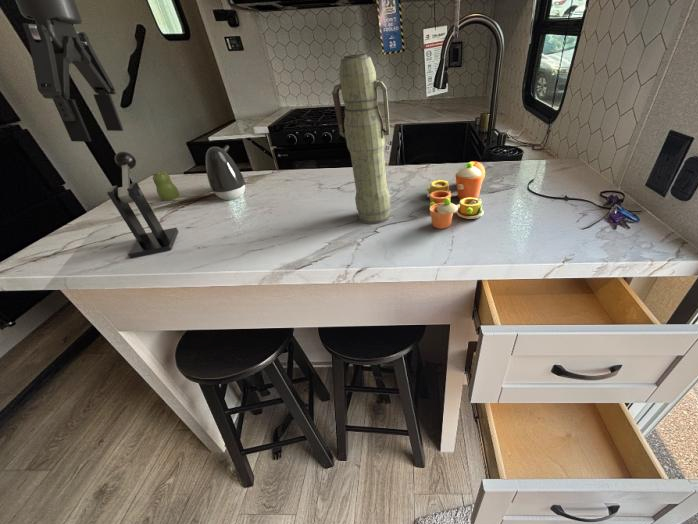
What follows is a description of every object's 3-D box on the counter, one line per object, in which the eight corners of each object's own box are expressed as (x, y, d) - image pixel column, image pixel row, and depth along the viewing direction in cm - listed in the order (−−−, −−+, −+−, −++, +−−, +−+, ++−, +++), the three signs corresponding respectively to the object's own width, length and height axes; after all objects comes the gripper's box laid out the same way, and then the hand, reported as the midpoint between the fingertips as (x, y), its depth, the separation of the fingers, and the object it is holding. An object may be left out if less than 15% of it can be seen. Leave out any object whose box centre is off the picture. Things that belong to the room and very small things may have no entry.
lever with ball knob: (121, 162, 84) (110, 149, 80) (139, 159, 85) (129, 146, 81) (122, 206, 79) (110, 195, 75) (141, 203, 80) (130, 191, 76)
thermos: (355, 210, 94) (330, 56, 72) (397, 208, 93) (385, 51, 71) (350, 224, 87) (321, 59, 65) (395, 222, 86) (382, 54, 64)
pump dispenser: (256, 192, 110) (239, 142, 101) (232, 204, 103) (211, 153, 94) (233, 189, 114) (215, 141, 104) (209, 201, 107) (186, 150, 97)
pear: (163, 207, 105) (146, 175, 99) (164, 202, 109) (147, 171, 102) (183, 203, 107) (167, 171, 101) (183, 198, 111) (167, 167, 104)
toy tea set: (426, 191, 101) (426, 157, 95) (479, 189, 100) (482, 155, 93) (424, 232, 81) (423, 193, 75) (490, 231, 79) (494, 191, 73)
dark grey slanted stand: (141, 238, 89) (107, 183, 80) (178, 231, 91) (149, 176, 82) (130, 258, 81) (90, 199, 72) (171, 250, 83) (137, 191, 74)
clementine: (466, 192, 98) (468, 167, 94) (453, 185, 103) (454, 161, 99) (488, 186, 101) (491, 161, 96) (474, 179, 106) (476, 156, 101)
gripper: (17, -25, 45) (90, 147, 57) (105, 4, 65) (145, 127, 77) (-54, -33, 43) (36, 146, 55) (58, 0, 63) (107, 126, 75)
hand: (100, 135), depth 66 cm, fingers open, 13 cm apart
